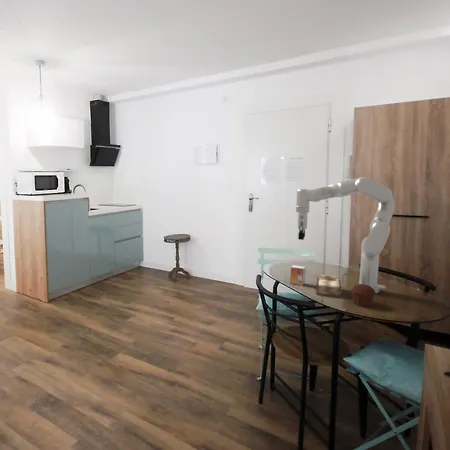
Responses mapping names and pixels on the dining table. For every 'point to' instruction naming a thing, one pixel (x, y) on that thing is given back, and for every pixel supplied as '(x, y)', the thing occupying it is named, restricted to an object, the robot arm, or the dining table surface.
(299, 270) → the small box
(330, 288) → the walnut box
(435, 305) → the dining table surface
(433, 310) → the dining table surface
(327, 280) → the lid
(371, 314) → the dining table surface
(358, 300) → the muffin
